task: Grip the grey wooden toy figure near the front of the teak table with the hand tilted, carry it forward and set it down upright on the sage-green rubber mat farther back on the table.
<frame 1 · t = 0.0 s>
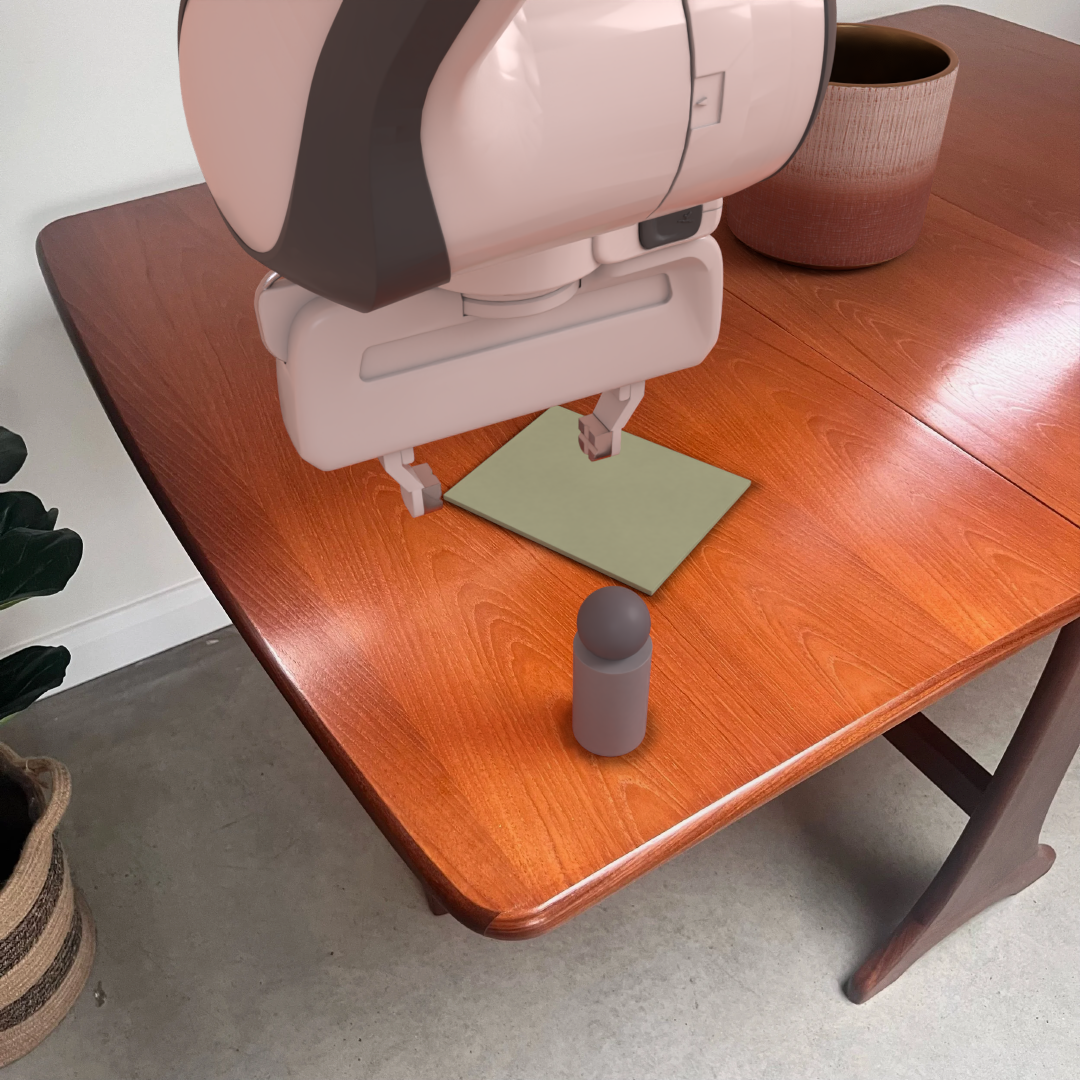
hand: (513, 478, 51), 23 cm above the table, tool pointing down, fingers open, 8 cm apart
kendama: (584, 293, 112), on the table
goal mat: (597, 492, 86), on the table
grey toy: (609, 726, 68), on the table
planter: (819, 234, 122), on the table
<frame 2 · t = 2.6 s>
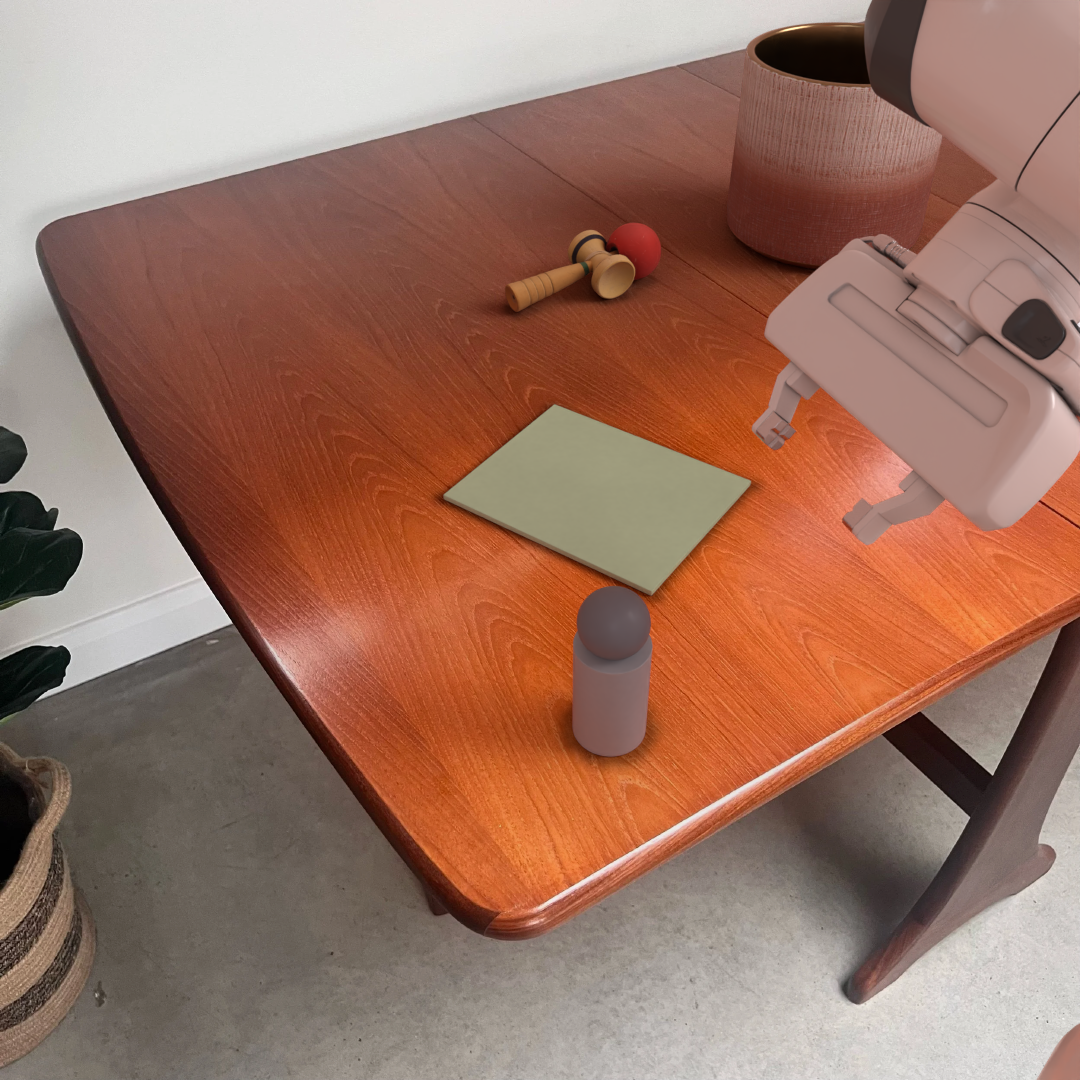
hand: (805, 485, 61), 16 cm above the table, tool tilted 45°, fingers open, 8 cm apart
nothing on the table moved.
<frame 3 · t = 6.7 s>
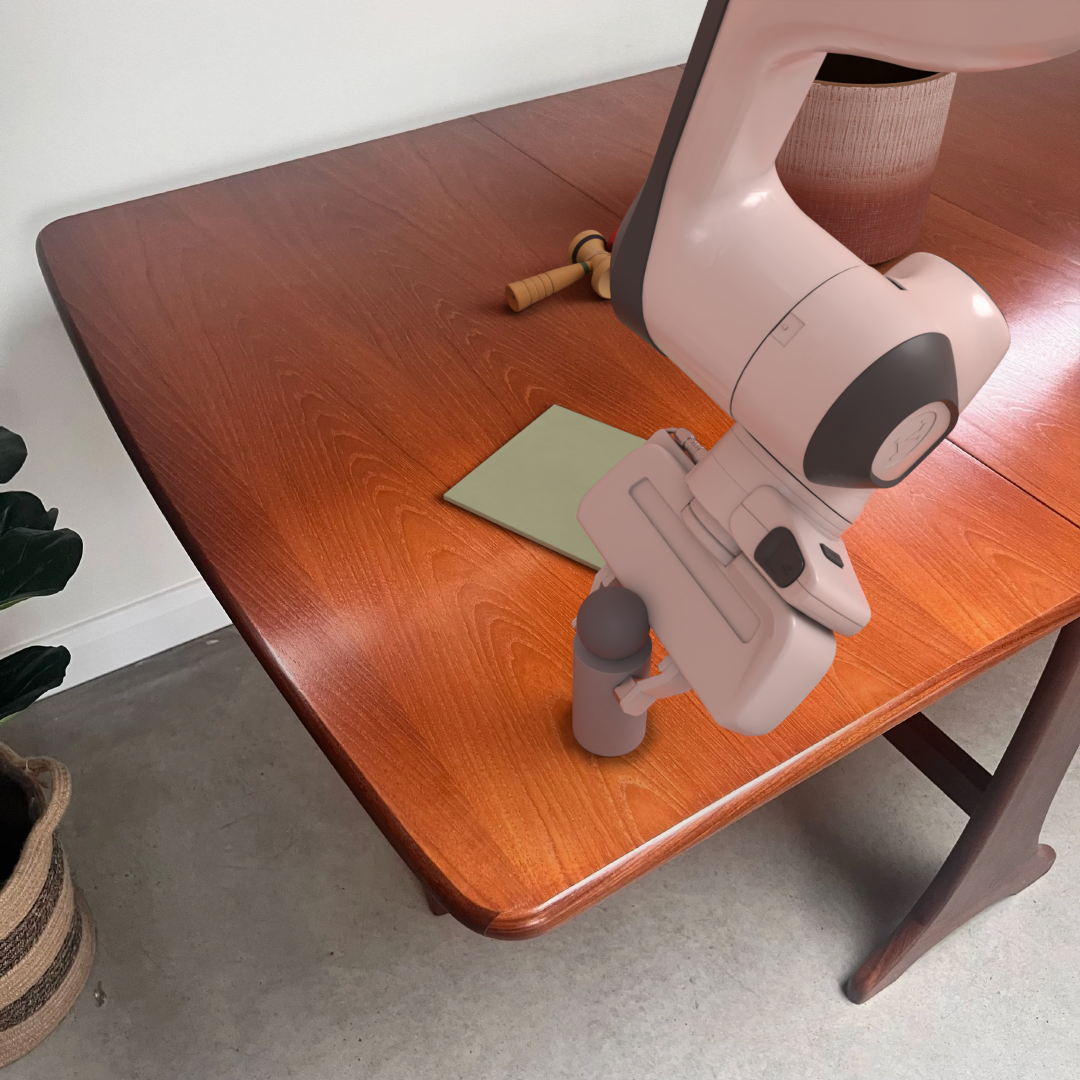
hand: (602, 670, 64), 6 cm above the table, tool tilted 45°, fingers closed on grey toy, 5 cm apart
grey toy: (608, 727, 68), on the table, touching gripper
everything else where it was.
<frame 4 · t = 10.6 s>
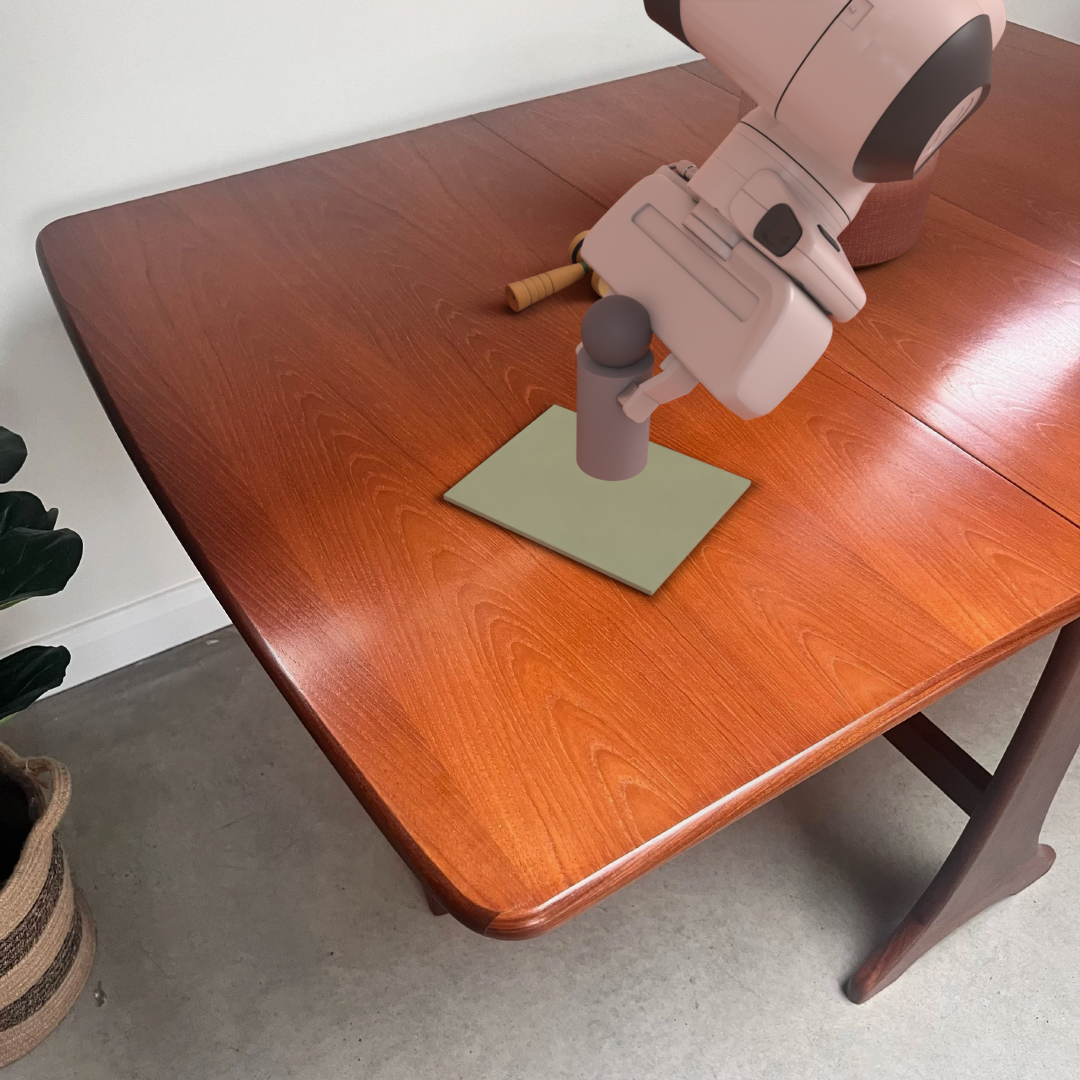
hand: (605, 388, 66), 18 cm above the table, tool tilted 45°, fingers closed on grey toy, 5 cm apart
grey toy: (611, 458, 70), point 12 cm above the table, touching gripper
everything else where it was.
when the fingers open (6 cm above the table, at t = 15.0 s): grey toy stays where it is, resting on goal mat.
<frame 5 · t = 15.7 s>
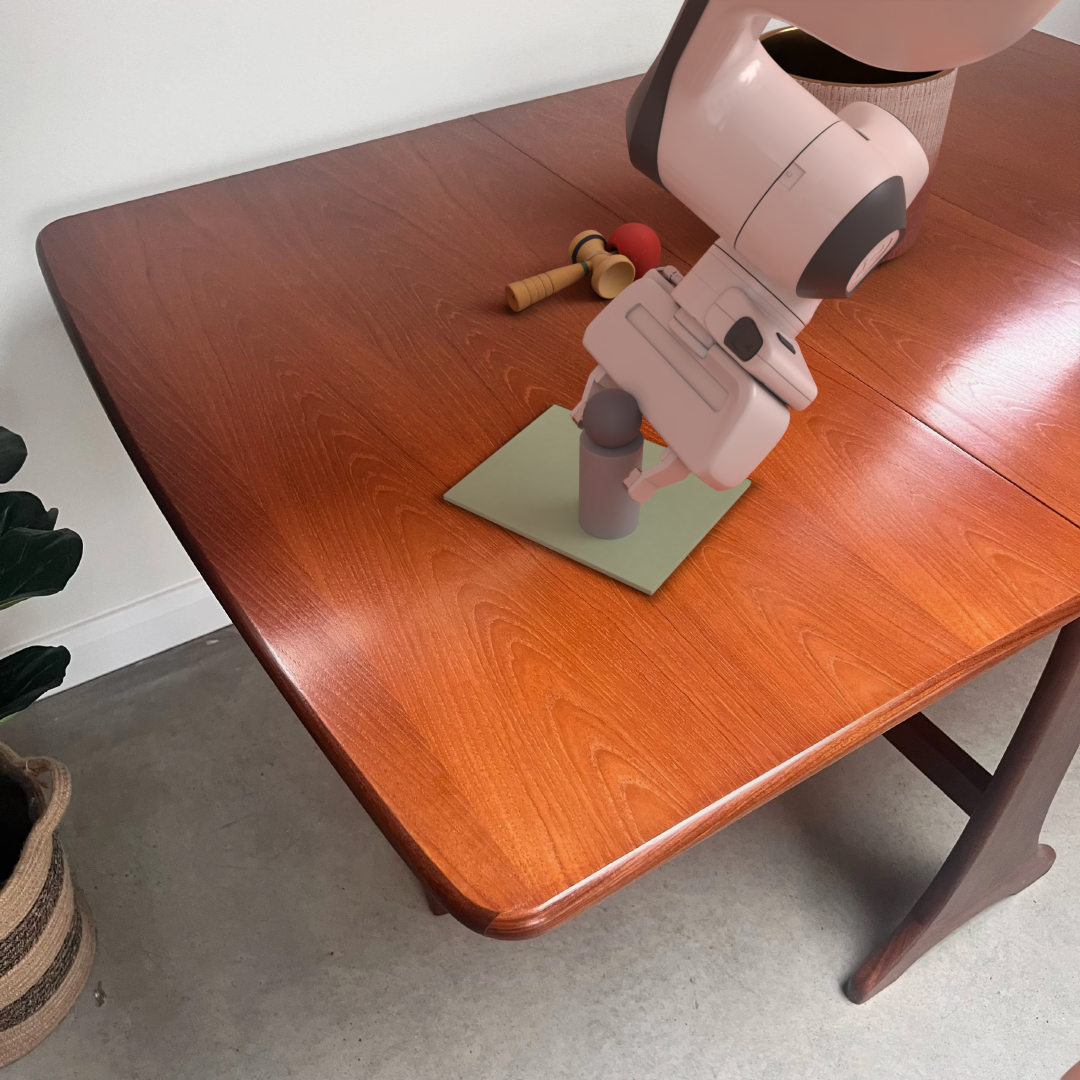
hand: (603, 458, 79), 7 cm above the table, tool tilted 45°, fingers open, 8 cm apart
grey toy: (608, 519, 83), resting on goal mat
everything else where it was.
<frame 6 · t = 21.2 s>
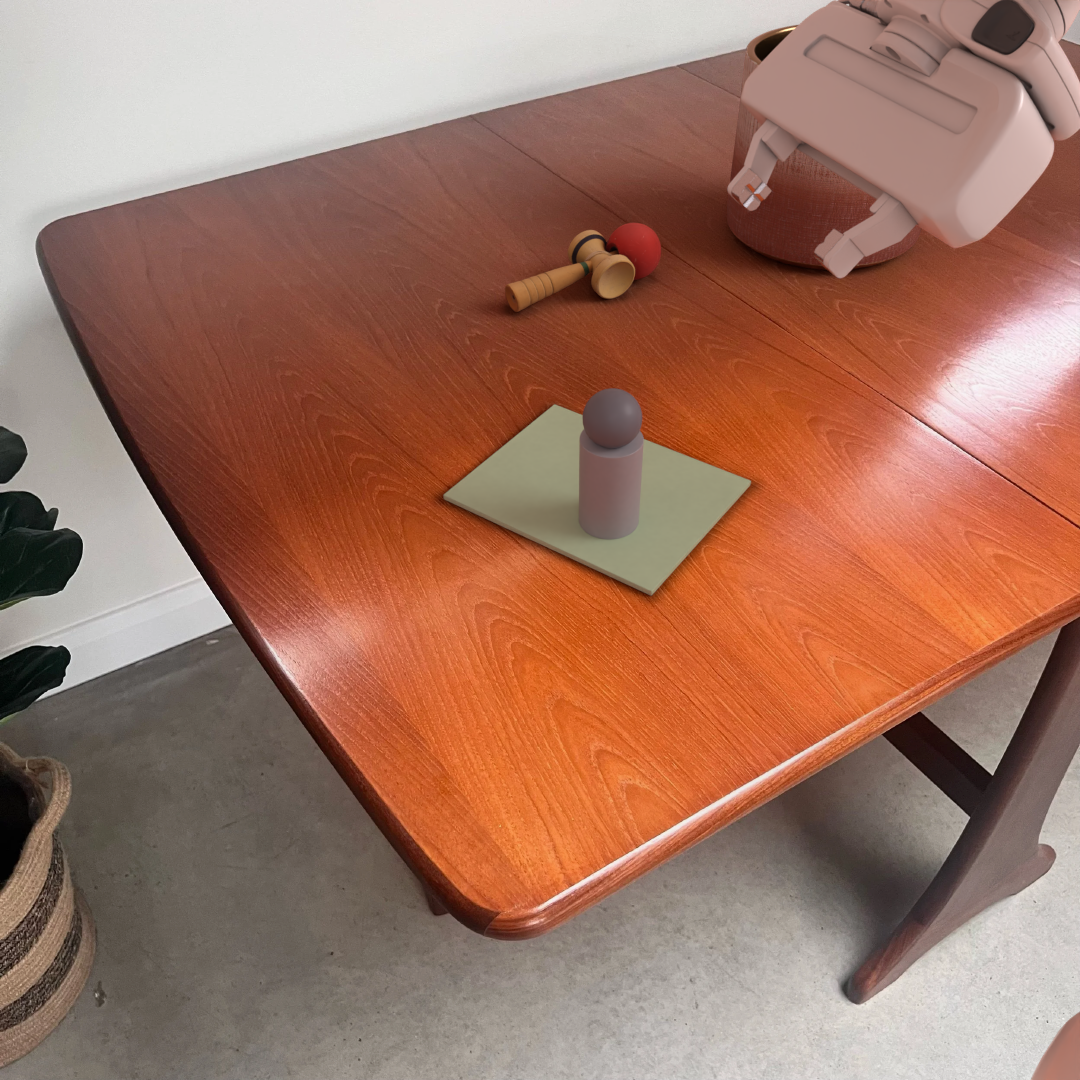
hand: (779, 233, 61), 27 cm above the table, tool tilted 45°, fingers open, 8 cm apart
nothing on the table moved.
at the end: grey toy inside the target area on the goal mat (4.2 cm from its centre), point 0.5 cm above the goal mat's base; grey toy tilted 0°; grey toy moved 20.3 cm from its start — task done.
